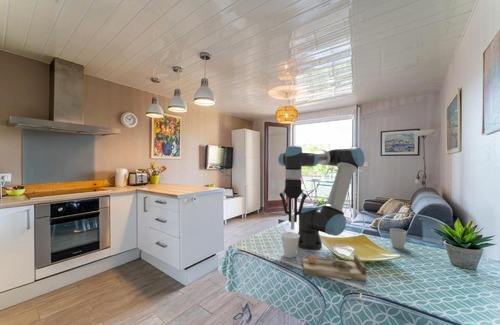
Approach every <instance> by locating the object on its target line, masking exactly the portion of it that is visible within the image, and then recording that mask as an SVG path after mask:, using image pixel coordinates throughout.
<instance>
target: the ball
mask: <svg viewBox="0 0 500 325" xmlns="http://www.w3.org/2000/svg"><path fill="white" fill-rule="evenodd" d="M307 257H308V261H309V262H310V263H312V264H313V263H315V262H316V258H317V257H316V256H315V255H314V254H310V255H309V256H307Z"/></svg>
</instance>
